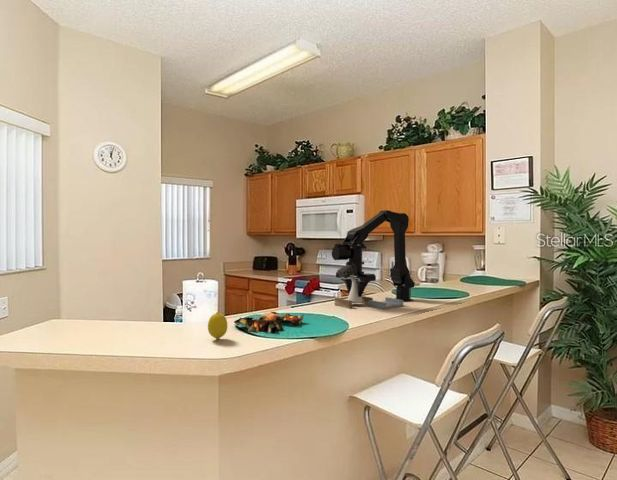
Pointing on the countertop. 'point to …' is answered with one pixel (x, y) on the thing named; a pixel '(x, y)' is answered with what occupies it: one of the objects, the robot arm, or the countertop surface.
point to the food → (269, 322)
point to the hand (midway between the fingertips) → (355, 296)
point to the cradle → (386, 303)
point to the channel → (350, 302)
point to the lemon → (217, 325)
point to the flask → (354, 293)
